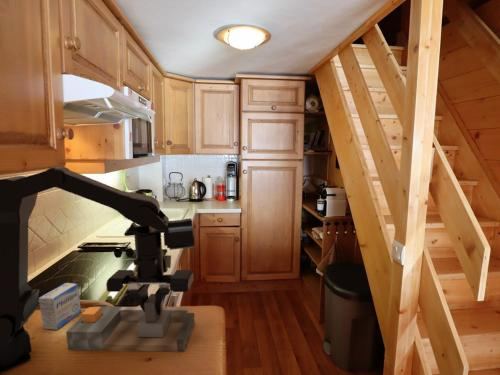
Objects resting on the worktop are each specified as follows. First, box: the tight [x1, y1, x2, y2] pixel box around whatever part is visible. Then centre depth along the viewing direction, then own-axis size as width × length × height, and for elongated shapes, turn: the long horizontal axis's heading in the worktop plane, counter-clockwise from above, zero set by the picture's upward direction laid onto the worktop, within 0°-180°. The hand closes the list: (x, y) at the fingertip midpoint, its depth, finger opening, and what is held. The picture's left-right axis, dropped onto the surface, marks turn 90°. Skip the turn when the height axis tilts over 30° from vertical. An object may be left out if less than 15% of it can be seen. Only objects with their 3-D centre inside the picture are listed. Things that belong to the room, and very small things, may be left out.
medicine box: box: [38, 282, 82, 331], centre depth 74 cm, size 8×4×9 cm, turn 168°
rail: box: [65, 305, 196, 353], centre depth 68 cm, size 26×10×4 cm, turn 88°
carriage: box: [137, 293, 171, 337], centre depth 67 cm, size 6×6×8 cm
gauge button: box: [81, 306, 102, 323], centre depth 68 cm, size 3×3×4 cm
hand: (153, 313), depth 67 cm, fingers closed on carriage, 2 cm apart
